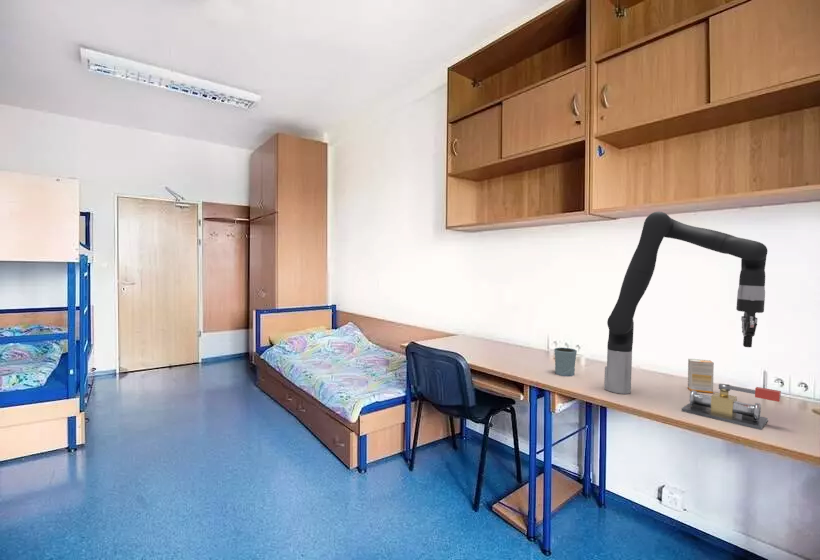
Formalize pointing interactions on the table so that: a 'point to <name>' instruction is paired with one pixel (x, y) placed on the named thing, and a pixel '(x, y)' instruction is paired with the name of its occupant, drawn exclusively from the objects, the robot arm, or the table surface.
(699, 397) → the valve body
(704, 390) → the supplement box
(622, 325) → the robot arm
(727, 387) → the valve lever
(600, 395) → the table surface
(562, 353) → the grey-green tapered cup
